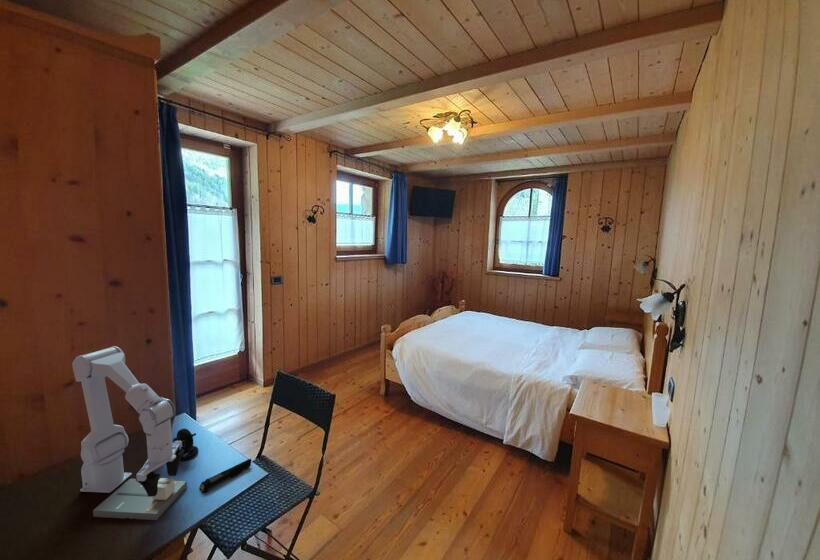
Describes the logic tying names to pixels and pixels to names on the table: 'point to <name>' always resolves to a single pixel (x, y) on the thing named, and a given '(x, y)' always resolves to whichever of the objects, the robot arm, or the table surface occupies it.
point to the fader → (164, 488)
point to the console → (136, 502)
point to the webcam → (186, 443)
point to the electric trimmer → (224, 476)
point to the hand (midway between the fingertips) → (162, 484)
